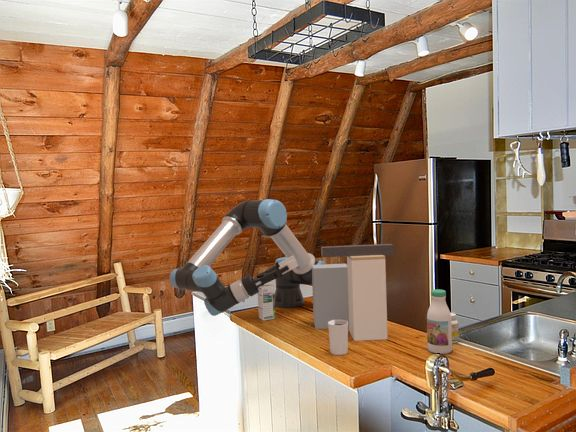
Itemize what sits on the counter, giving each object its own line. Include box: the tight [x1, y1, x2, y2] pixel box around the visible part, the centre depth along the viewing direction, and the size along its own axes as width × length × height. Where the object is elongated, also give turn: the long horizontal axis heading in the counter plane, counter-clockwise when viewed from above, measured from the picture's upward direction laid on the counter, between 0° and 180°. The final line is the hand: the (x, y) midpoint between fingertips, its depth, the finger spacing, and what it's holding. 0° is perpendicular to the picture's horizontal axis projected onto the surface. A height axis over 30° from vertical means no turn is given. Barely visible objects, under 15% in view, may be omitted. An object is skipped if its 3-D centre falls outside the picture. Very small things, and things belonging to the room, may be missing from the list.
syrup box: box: [257, 283, 276, 322], centre depth 195 cm, size 6×6×14 cm
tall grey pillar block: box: [311, 263, 349, 330], centre depth 182 cm, size 9×14×24 cm, turn 92°
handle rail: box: [320, 243, 395, 258], centre depth 166 cm, size 4×26×4 cm, turn 92°
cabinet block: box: [346, 255, 389, 342], centre depth 167 cm, size 11×12×30 cm
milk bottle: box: [426, 288, 453, 355], centre depth 149 cm, size 8×8×20 cm
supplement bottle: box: [450, 312, 459, 344], centre depth 158 cm, size 5×5×10 cm
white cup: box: [328, 320, 349, 356], centre depth 151 cm, size 7×7×10 cm
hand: (295, 260), depth 167 cm, fingers open, 13 cm apart
